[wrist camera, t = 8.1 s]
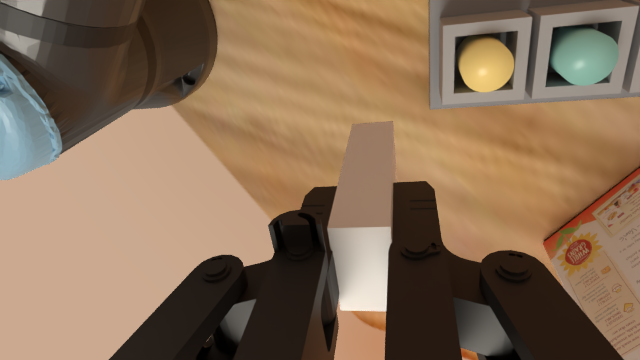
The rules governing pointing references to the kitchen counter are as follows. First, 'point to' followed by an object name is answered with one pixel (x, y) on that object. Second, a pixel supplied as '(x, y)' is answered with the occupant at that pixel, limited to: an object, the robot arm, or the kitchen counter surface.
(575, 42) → the teal button
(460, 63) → the mustard button
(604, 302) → the cracker box
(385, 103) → the kitchen counter surface
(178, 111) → the kitchen counter surface
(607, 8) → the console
